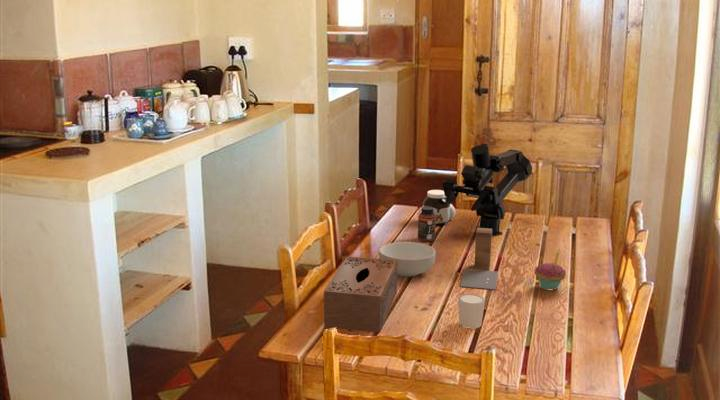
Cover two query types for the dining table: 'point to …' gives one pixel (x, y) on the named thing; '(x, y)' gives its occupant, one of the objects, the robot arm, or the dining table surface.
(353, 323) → the tissue box cover
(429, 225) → the supplement bottle
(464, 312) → the white cup
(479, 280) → the felt mat
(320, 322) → the dining table surface
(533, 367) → the dining table surface
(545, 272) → the cupcake
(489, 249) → the walnut block
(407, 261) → the cereal bowl
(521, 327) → the dining table surface
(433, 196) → the spread jar
